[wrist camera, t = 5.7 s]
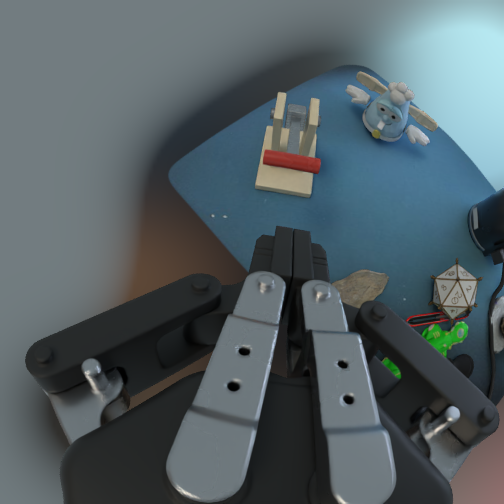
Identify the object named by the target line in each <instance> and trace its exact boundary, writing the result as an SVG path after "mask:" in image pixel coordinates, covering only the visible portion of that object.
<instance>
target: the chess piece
mask: <svg viewBox="0 0 504 504" xmlns="http://www.w3.org/2000/svg"><path fill="white" fill-rule="evenodd" d="M446 359H448V360H449V361H450V362H451V363H452V364H453V365H454V366H455V367H456V368H457V369H458V370H459V371H460V372H461V373H462V374H463V375H465V376H466V377H467V378H469V377H470V376H471V374H472V372H473V369H474V362H473V359H472V358H471V357H470V356H469V355H467V354H462V355H459V356H458V357H457V358H456V359H455V360H454V361H453V360H452V359H450V358H446Z"/></svg>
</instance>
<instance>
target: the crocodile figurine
mask: <svg viewBox="0 0 504 504" xmlns="http://www.w3.org/2000/svg"><path fill="white" fill-rule="evenodd" d="M467 332H468V326H467V325H466V323H465V322H464V321H461V322H457V323H456V324H455V326H454V327H453V326H452V327H451V328H450V330H449V332H448V331H442V330H441V328H440V327H439V325H438V324H432V325H431V326H430V327H427V328H426V329H425V330H424V331H423V333H422V335H421V336H422V337H423V338H425V339H426V340H427V341H428V342H429V343H430V344H431V345H432V346H433V347H434V348H436V349H437V350H438V351H439V352H440V353H441V354H442V355H443V356H444V357H445V358H446V357H447V351H446V350H448V349H451V346H452V345H453V344H457V343H462V342H463V340H464V339H465V338H466V337H467ZM452 343H453V344H452ZM384 359H385V358H384ZM384 359H383V361H382V363H383V364H384V365H385V366H386V367H387V368H388V369H389V370H390V371H391V372H392V373H393V374H394V375H395V376H396V377H397V378H399V379H400V378H401V373H400V370H399V369H398V367H397V366H396V365H395V364H393V363H392V362H391V361H390V360H389V359H386V360H384Z"/></svg>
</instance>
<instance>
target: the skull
mask: <svg viewBox="0 0 504 504" xmlns="http://www.w3.org/2000/svg"><path fill="white" fill-rule="evenodd" d="M492 313H493V314H492V317H491V316H490V309H489V313H488V314H489V318H490V321H491V323H493V336H494V353H495V354H496V352H498V353H499V351H501V350H502V349H503V348H504V296H502V297H499V298H496V299H495V302H494V307H493V312H492Z"/></svg>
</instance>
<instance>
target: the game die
mask: <svg viewBox="0 0 504 504" xmlns="http://www.w3.org/2000/svg"><path fill="white" fill-rule="evenodd" d="M455 262H456V264H455V265H453V266H452V267H450V268H449V269H447V270H446V271H444V272H443V273H442V274H440V275H439V276H437V277H436V278H435V276H433V275H432V276H431V279H434V293H433V301H431V302H430V303H429V304H428V305H431V304H433V303H434V304H435V305H436V306H437V307H438V309H440V310H442V311H443V312H444V313H445V314H446V315H447V316H448V317H449V318H450V319H451V322H450V323H451V325H452V324H453V322H454V321H453V319H455V318H456V317H458V316H459V315H461V314H462V313H463V312H465V311H466V310H469V311H472V306H473V305H474V307H478V306H477V304H476V303H475V298H476V292H477V285H478V281H480V280H482V278H483V277H480V278H478V279H477V278H475V277H474V276H473V275H472V274H470V273H469V272H468V271H467V270H465V269H464V268H463V267H461V266H460V265H459V264H458V258H456V261H455Z"/></svg>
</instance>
